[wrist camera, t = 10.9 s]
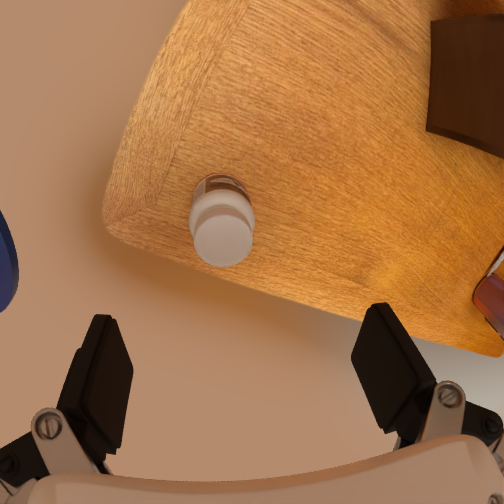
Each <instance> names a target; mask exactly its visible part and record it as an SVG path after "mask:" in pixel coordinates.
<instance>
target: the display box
mask: <svg viewBox="0 0 504 504" xmlns="http://www.w3.org/2000/svg"><path fill="white" fill-rule="evenodd" d="M426 131H427V132H431V133H434V134H437V135H440V136H443V137H446V138H449V139H452V140H455V141H458V142H461V143H464V144H467V145H469V146H472V147H475V148H477V149H480V150H482V151H485V152H488V153H490V154H492V155H495V156H497V157H500V158H502V159H504V14H490V15H475V16H465V17H456V18H448V19H441V20H436V21H431V78H430V95H429V107H428V117H427V126H426Z"/></svg>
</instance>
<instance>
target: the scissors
mask: <svg viewBox="0 0 504 504" xmlns="http://www.w3.org/2000/svg"><path fill="white" fill-rule="evenodd" d="M503 259H504V251H503V252H502V254H501V255H500V257H499V258H498V260H497V261H496V263H495V264H494V266H493V267H492V269H491V270H490V272H489V273H488V275H487V276H488V277H489V276H490V275H491V273H492V272H493V271H494V270H495V269H496V268H497V266H498V265H499V264H500V263H501V261H502V260H503Z"/></svg>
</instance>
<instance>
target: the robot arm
mask: <svg viewBox="0 0 504 504" xmlns="http://www.w3.org/2000/svg"><path fill="white" fill-rule="evenodd" d="M351 361H352V364H353V366H354V368H355V371H356V373H357V375H358V378H359V380H360V383H361V385H362V387H363V390H364V392H365V394H366V397H367V399H368V402H369V404H370V407H371V409H372V412H373V414H374V416H375V419H376V422H377V424H378V426H379V427H380V428H381V429H382V428H383V431H384V433H385V434H387V433H390V432H393V431H397V434H398V439H397V441H396V444H395V446H394V449H393V451H392V452H389V453H386V454H383V455H379V456H376V457H373V458H369V459H366V460H362V461H358V462H355V463H351V464H347V465H343V466H339V467H334V468H329V469H325V470H319V471H314V472H309V473H303V474H297V475H290V476H284V477H275V478H266V479H256V480H244V481H243V480H242V481H221V482H187V481H186V482H185V481H166V480H152V479H141V478H132V477H124V476H116V475H113V473H112V472H111V470H110V469H109V467H108V466H107V464H106V463H105V459H106V453H108V454H114V455H116V449H117V448H120V447H121V442H122V435H123V429H124V422H125V416H126V410H127V404H128V399H129V393H130V388H131V382H132V378H133V365H132V363H131V360H130V357H129V355H128V352H127V349H126V347H125V344H124V341H123V339H122V336H121V333H120V330H119V327H118V324H117V321H116V320H115V319H112V317H111V315H103V314H96V315H94V317H93V319H92V322H91V324H90V327H89V329H88V331H87V334H86V336H85V339H84V342H83V344H82V347H81V348H79V349H77V351H76V353H75V355H74V358H73V360H72V363H71V366H70V368H69V371H68V374H67V377H66V380H65V383H64V385H63V389H62V391H61V394H60V397H59V401H58V404H57V407H56V409H54V408H44V409H41V410H40V411H38V412H37V413H36V414H35V416H34V417H33V419H32V422H31V431H30V432H29V433H27V434H25V435H23V436H21V437H20V438H18V439H16V440H14V441H13V442H11V443H9V444H8V445H6V446H4V447H3V448H1V449H0V504H504V429H503V422H502V419H501V418H500V416H499V415H498V414H497V413H495V412H493V411H491V410H488V409H486V408H483V407H481V406H478V405H476V404H473V403H471V402H468V401H466V397H465V393H464V391H463V390H462V388H461V387H460V386H459V385H458V384H456V383H454V382H452V381H442V382H440V383H439V384H437V382H436V378H435V377H434V375H433V373H432V372H431V370H430V368H429V367H428V365H427V363H426V362H425V360H424V358H423V357H422V355H421V353H420V352H419V351H418V349H417V347H416V345H415V344H414V342H413V341H412V339H411V338H410V336H409V334H408V333H407V331H406V330H405V328H404V327H403V325H402V324H401V322H400V321H399V319H398V318H397V316H396V315H395V313H394V312H393V310H392V309H391V307H390V306H389V304H388V303H386V302H384V303H375V304H372V305H371V307H370V308H368V309H367V311H366V314H365V317H364V320H363V323H362V326H361V329H360V332H359V335H358V338H357V341H356V343H355V346H354V348H353V351H352V354H351Z"/></svg>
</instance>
